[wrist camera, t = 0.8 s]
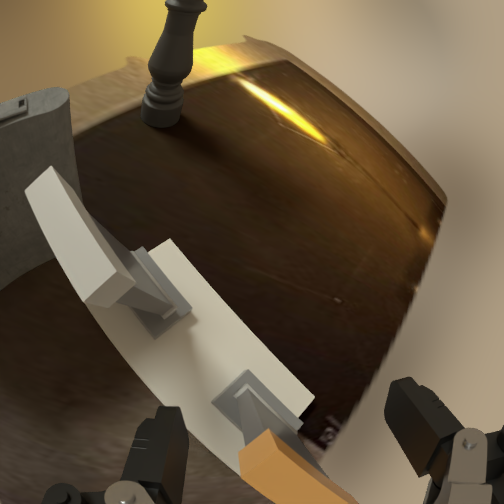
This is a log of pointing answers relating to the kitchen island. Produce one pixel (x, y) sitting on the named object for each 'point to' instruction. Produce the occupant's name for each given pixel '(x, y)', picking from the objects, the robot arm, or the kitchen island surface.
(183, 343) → the switch panel
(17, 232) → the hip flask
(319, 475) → the orange lever
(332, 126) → the kitchen island surface
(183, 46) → the candle holder
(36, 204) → the grey lever
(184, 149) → the kitchen island surface
